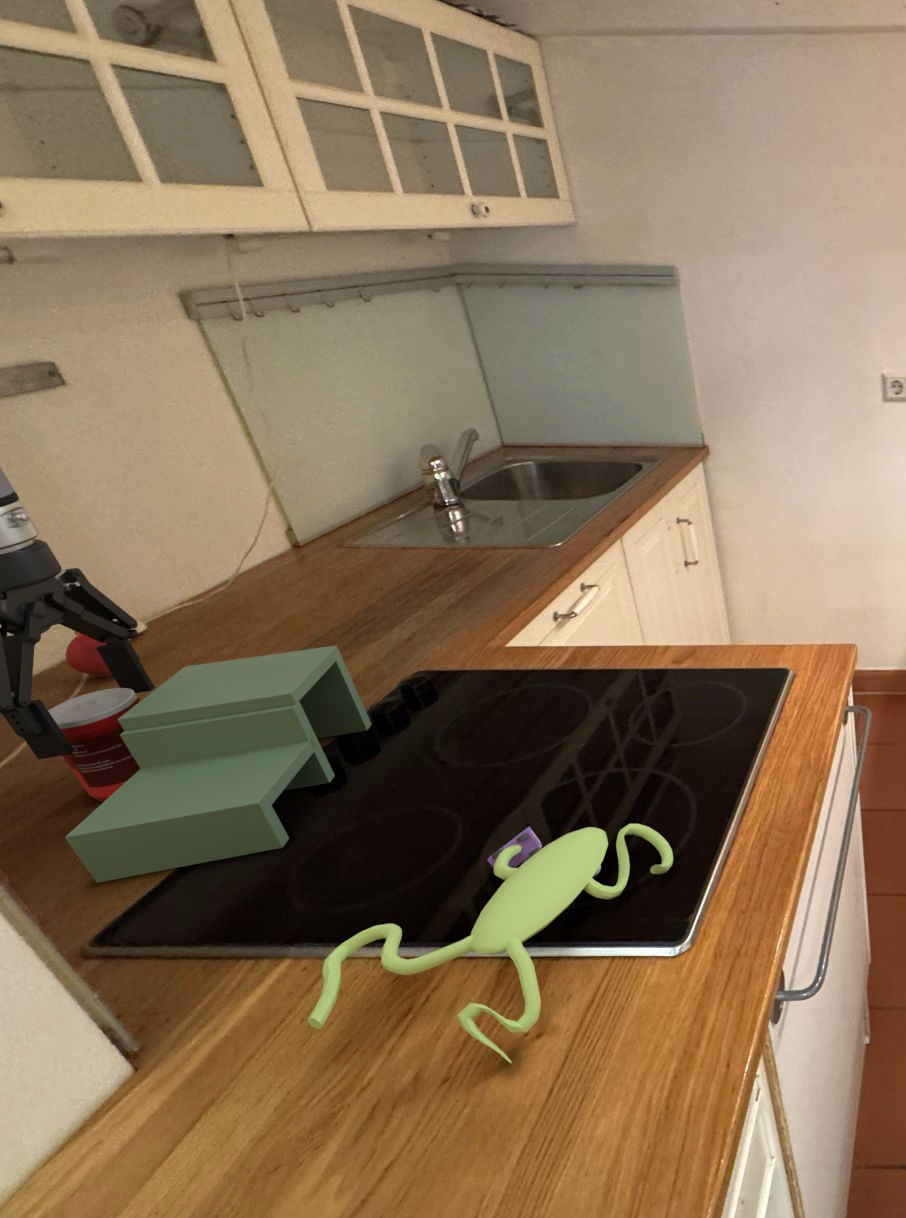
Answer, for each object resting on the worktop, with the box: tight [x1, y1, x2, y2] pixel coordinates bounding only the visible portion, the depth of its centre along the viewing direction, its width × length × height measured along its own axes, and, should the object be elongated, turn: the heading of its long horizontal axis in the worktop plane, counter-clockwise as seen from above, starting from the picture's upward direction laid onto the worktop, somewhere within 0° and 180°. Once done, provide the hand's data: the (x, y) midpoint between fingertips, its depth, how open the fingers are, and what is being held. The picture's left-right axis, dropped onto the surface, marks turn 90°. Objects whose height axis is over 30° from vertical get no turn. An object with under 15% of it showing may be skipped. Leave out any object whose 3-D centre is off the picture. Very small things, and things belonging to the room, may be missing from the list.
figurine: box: [307, 823, 674, 1064], centre depth 68 cm, size 18×27×6 cm
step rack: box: [64, 645, 372, 884], centre depth 87 cm, size 16×24×12 cm, turn 16°
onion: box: [65, 631, 113, 678], centre depth 114 cm, size 6×6×8 cm
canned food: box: [48, 687, 141, 803], centre depth 89 cm, size 8×8×11 cm
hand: (101, 721), depth 88 cm, fingers open, 13 cm apart
